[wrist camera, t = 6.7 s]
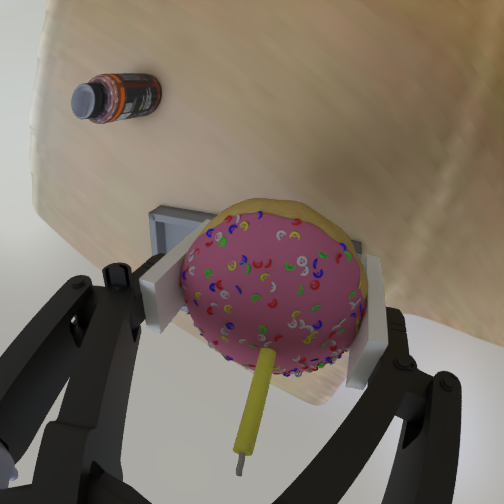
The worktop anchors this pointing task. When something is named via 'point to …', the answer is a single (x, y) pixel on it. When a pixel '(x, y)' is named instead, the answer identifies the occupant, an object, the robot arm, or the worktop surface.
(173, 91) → the worktop surface
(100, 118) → the supplement bottle
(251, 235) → the cupcake
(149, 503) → the robot arm
